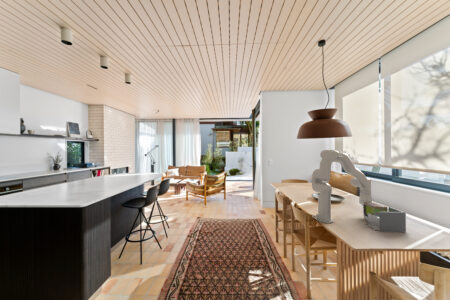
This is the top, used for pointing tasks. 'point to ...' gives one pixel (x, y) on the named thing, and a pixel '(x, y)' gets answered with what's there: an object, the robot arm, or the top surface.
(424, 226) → the top surface
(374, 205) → the tea box
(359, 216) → the top surface
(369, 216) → the bookend
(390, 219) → the shelf wall
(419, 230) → the top surface
